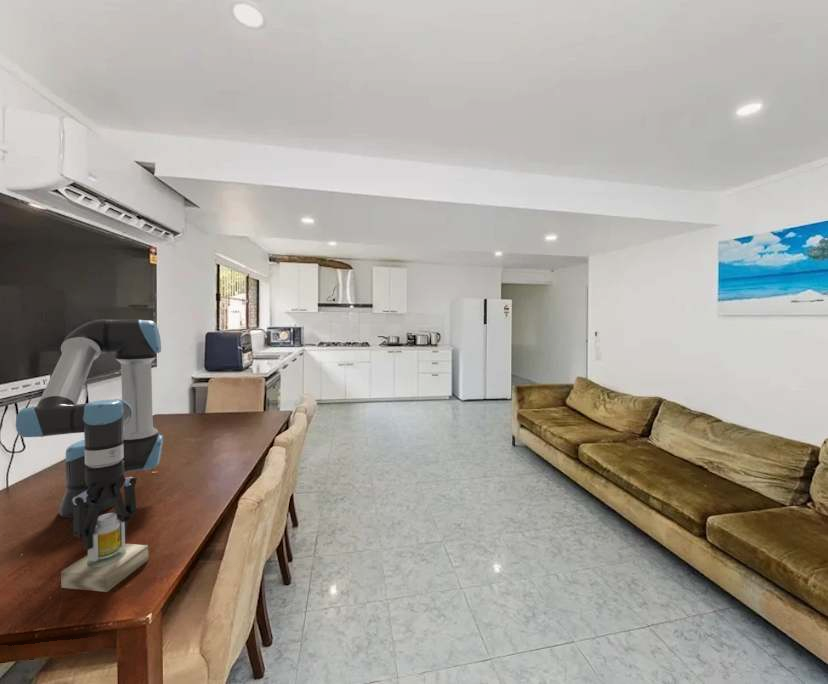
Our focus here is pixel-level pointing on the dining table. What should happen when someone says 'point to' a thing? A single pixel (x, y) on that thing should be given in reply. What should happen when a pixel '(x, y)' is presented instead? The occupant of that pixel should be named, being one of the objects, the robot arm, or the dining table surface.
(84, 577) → the pedestal
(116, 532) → the supplement bottle
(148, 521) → the dining table surface
